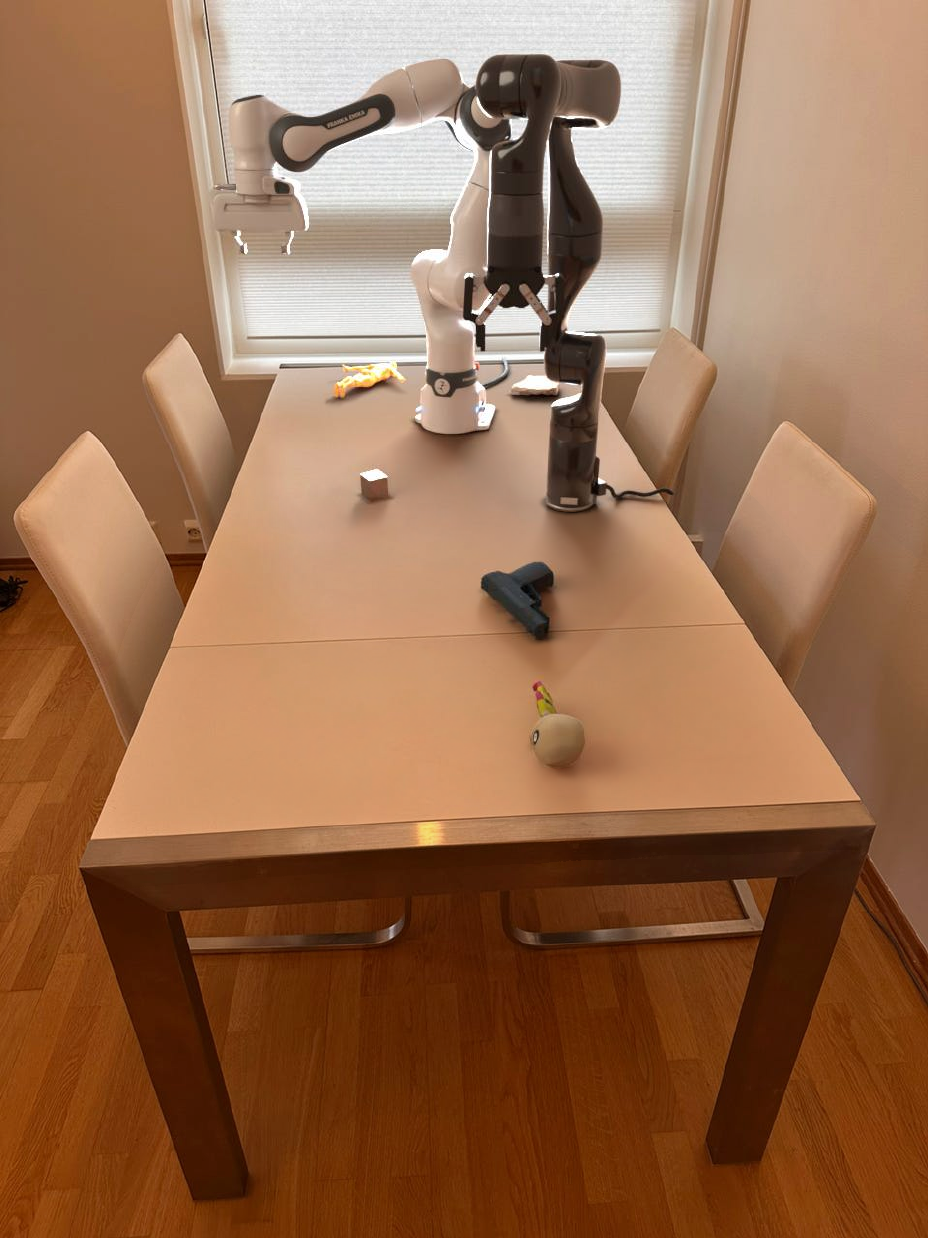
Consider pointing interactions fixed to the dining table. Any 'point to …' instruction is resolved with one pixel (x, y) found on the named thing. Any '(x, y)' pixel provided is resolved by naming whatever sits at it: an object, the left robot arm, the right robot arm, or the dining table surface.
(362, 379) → the human figure
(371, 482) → the block
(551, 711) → the toy
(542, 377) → the stone
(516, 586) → the handgun
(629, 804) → the dining table surface
